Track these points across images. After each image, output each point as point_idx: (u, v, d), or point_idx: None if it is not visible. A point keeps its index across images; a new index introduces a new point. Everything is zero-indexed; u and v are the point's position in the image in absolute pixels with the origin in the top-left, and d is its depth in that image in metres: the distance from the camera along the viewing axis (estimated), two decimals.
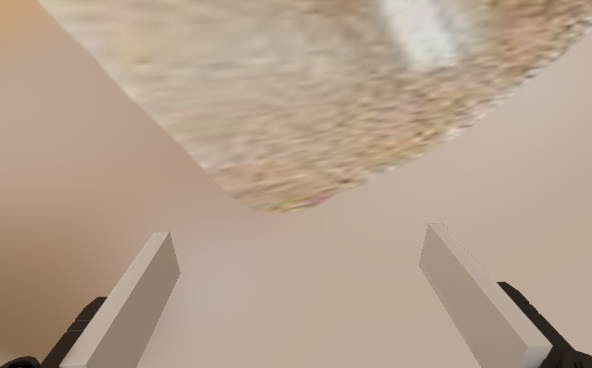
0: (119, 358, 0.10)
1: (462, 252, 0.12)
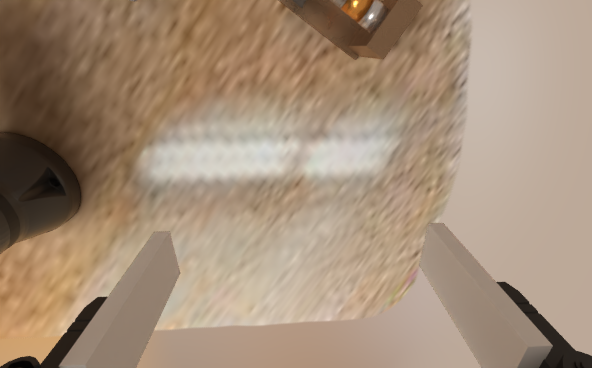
0: (119, 358, 0.10)
1: (462, 252, 0.12)
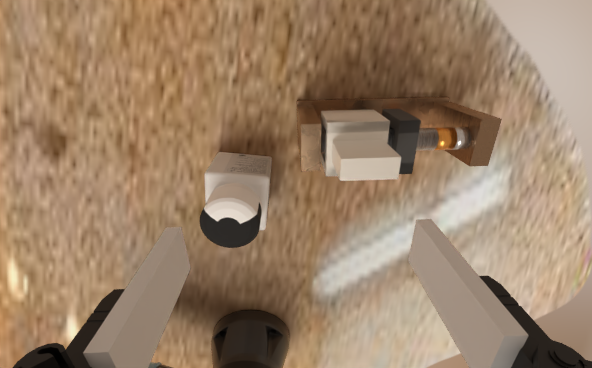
0: (137, 347, 0.10)
1: (447, 247, 0.12)
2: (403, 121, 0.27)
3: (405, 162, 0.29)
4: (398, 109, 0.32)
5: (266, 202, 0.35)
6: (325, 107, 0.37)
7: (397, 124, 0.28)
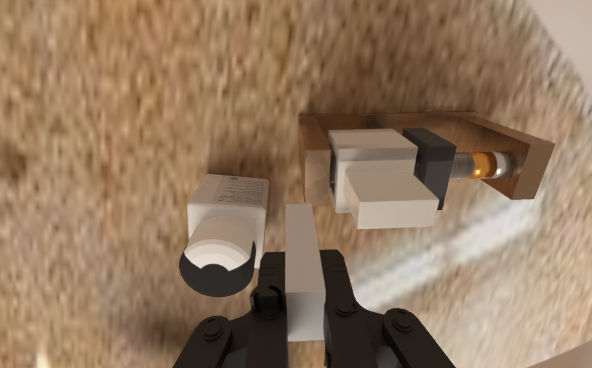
0: None
1: (308, 225, 0.14)
2: (434, 147, 0.22)
3: None
4: (422, 128, 0.26)
5: (262, 237, 0.30)
6: (332, 123, 0.32)
7: (425, 150, 0.22)
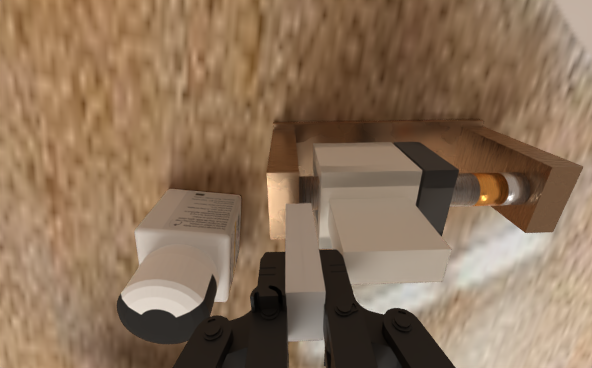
0: None
1: (308, 225, 0.14)
2: (430, 171, 0.17)
3: None
4: (417, 143, 0.22)
5: (226, 268, 0.25)
6: (312, 133, 0.27)
7: None
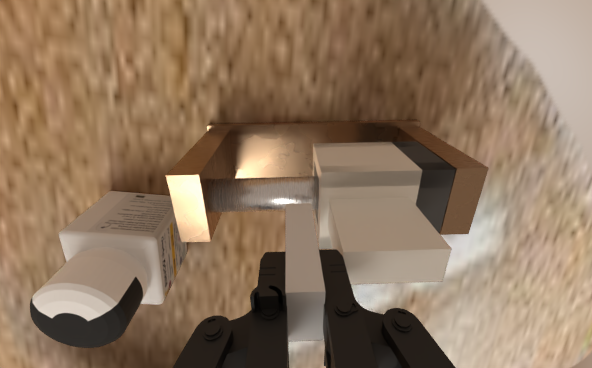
0: None
1: (308, 225, 0.14)
2: (427, 171, 0.17)
3: None
4: (414, 142, 0.22)
5: (157, 270, 0.25)
6: (247, 134, 0.27)
7: None
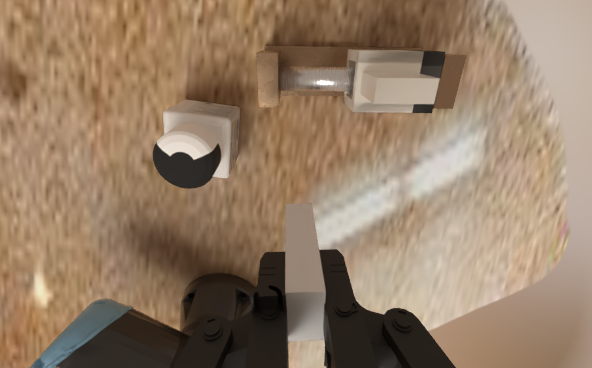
0: None
1: (308, 225, 0.14)
2: (427, 52, 0.26)
3: None
4: (419, 50, 0.31)
5: (228, 147, 0.34)
6: (294, 54, 0.36)
7: None
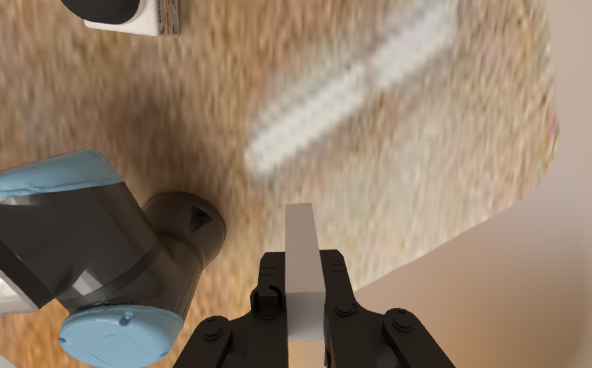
0: None
1: (308, 225, 0.14)
2: None
3: None
4: None
5: None
6: None
7: None
